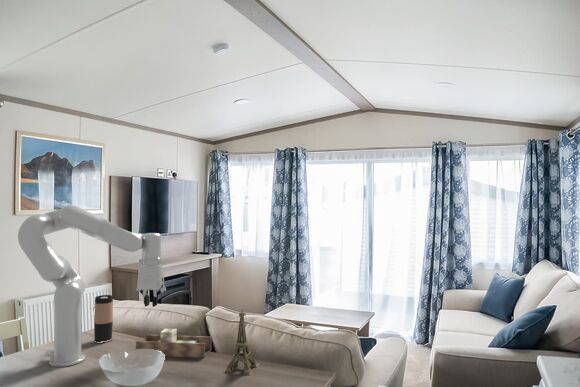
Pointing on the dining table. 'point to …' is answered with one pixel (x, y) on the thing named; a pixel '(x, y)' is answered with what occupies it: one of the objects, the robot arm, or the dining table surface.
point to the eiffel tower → (244, 354)
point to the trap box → (178, 346)
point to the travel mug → (103, 318)
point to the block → (168, 335)
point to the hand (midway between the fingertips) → (150, 305)
